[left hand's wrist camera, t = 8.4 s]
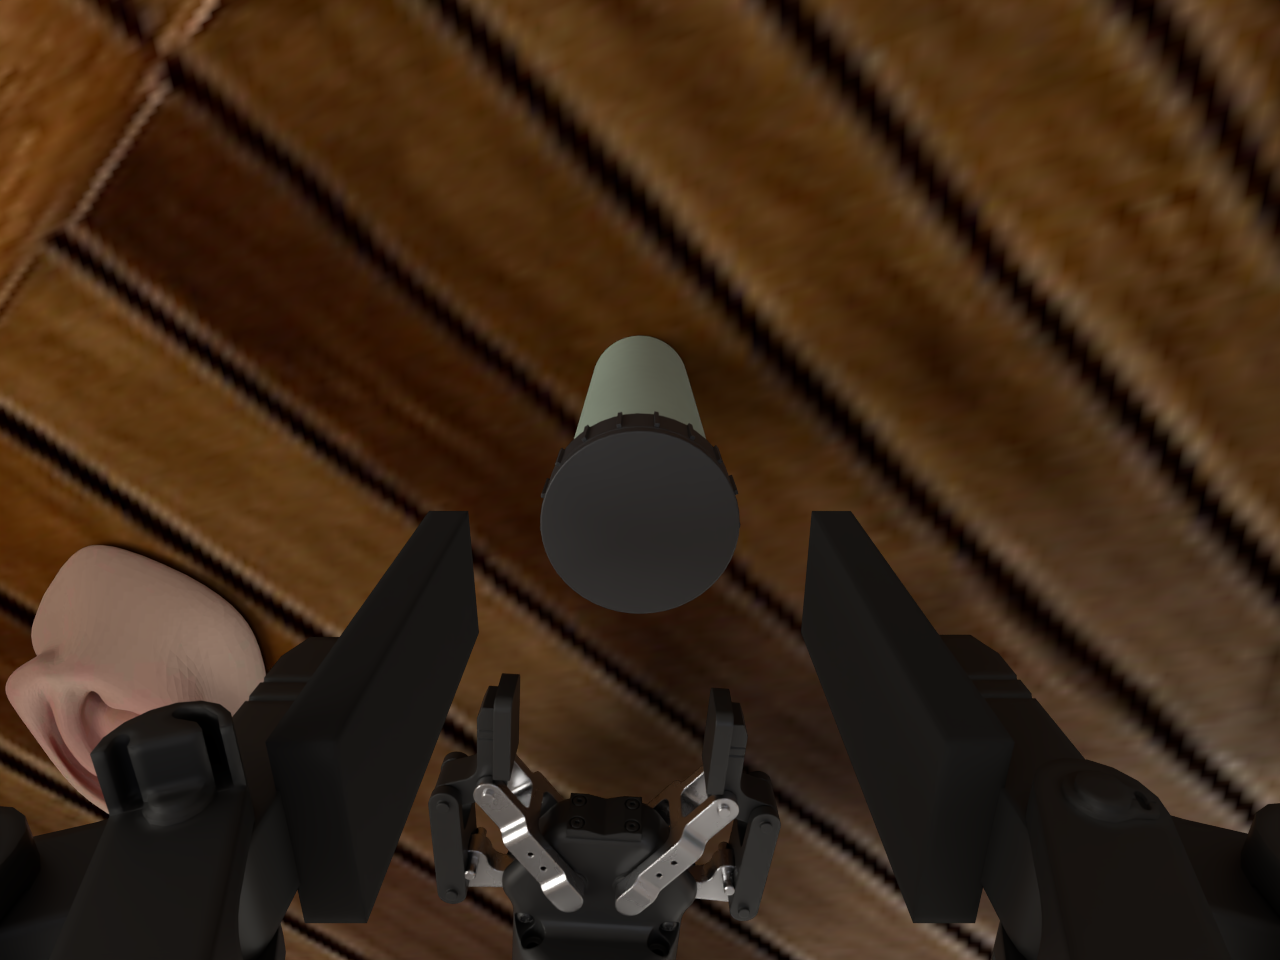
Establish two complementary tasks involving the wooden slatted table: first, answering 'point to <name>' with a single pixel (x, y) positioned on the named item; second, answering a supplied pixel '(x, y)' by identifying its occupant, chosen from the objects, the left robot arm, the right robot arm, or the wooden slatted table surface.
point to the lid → (639, 514)
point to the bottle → (640, 384)
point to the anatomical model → (125, 654)
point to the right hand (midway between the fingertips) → (614, 692)
